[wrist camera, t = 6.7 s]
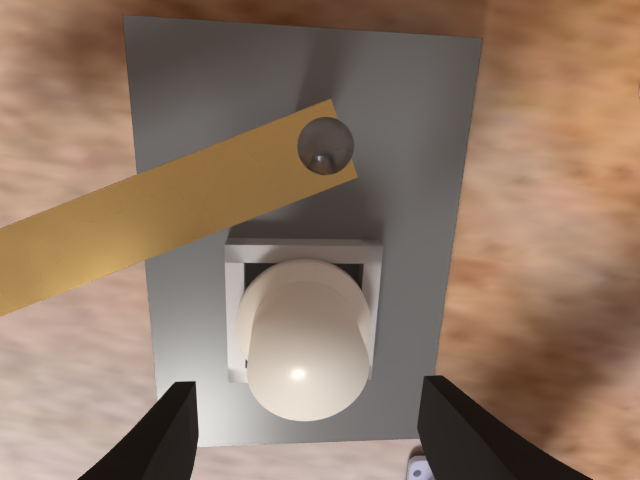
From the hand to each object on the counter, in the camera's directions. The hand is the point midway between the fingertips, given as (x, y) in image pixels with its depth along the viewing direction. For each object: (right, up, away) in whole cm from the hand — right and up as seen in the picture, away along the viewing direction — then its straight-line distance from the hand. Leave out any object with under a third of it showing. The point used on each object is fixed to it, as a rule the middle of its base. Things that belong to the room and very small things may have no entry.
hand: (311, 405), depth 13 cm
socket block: (-1, +5, +8) cm, 9 cm away
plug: (-1, +2, +6) cm, 7 cm away
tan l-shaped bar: (-6, +7, +4) cm, 10 cm away
